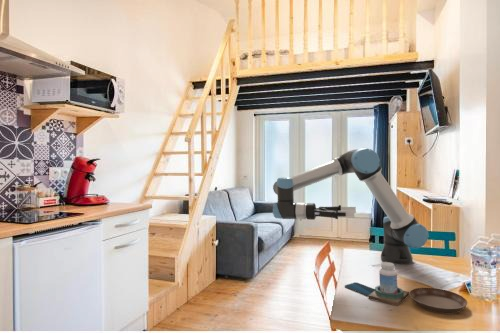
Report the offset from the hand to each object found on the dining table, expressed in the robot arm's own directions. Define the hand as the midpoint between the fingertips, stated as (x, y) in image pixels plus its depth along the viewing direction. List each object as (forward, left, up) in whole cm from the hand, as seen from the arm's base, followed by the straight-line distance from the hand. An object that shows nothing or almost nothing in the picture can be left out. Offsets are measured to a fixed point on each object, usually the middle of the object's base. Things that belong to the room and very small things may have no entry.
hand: (355, 212), depth 139 cm
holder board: (+9, +17, -30) cm, 35 cm away
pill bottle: (+9, +17, -29) cm, 34 cm away
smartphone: (+9, +7, -30) cm, 33 cm away
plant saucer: (+5, +32, -30) cm, 44 cm away
